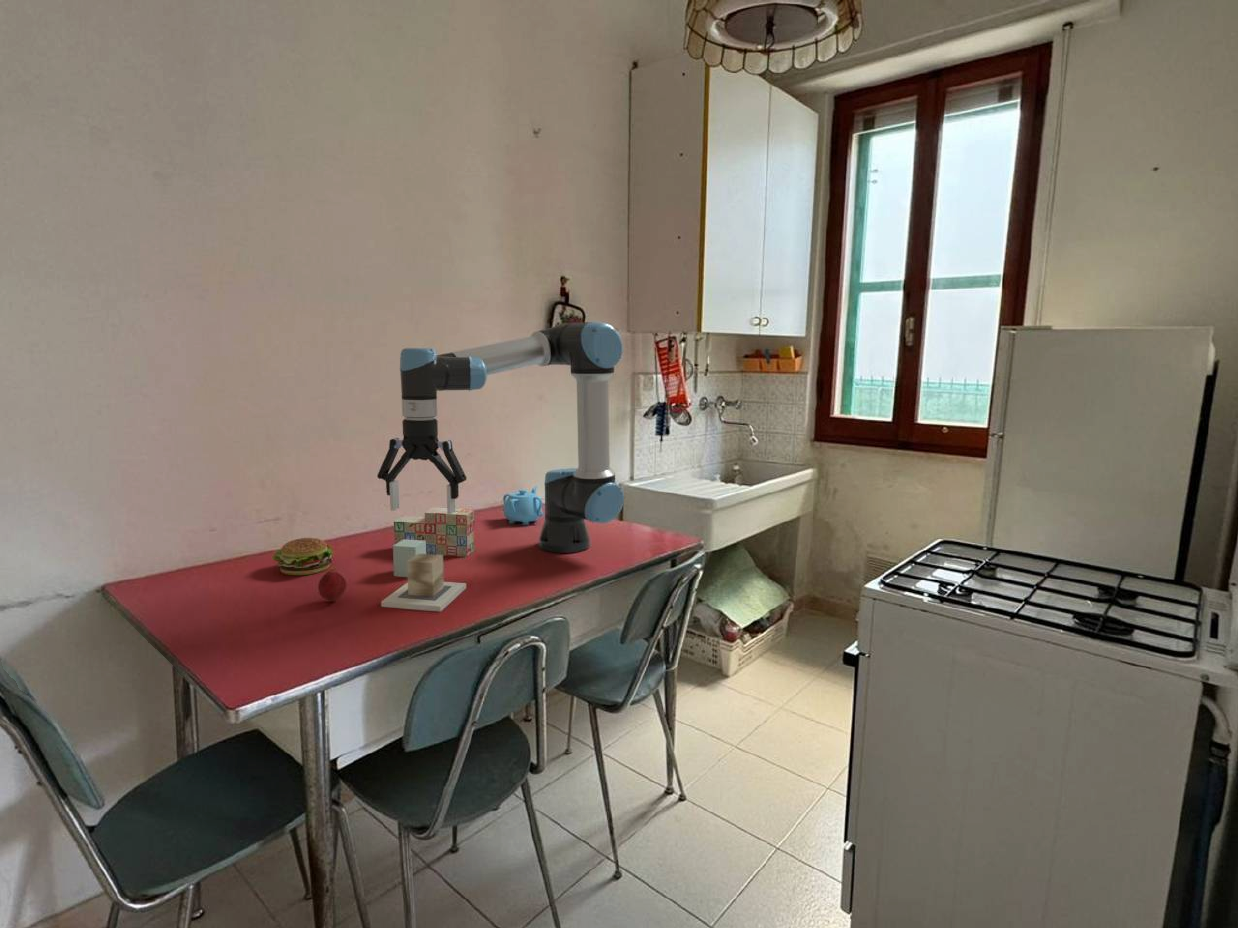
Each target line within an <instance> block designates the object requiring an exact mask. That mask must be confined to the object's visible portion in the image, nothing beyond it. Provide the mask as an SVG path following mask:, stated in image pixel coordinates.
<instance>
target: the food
mask: <svg viewBox="0 0 1238 928" xmlns="http://www.w3.org/2000/svg"><path fill="white" fill-rule="evenodd" d="M333 554H334V550H333V549H332V548H331V547H330V546H329V545H328V544H327V543H326V542H325V540H322V539H320V538H317V537H316V538H314V537H301V538H297V539H292V540H290V541H288V542H286V543H285V544H283V545H282V547H281V548H280V549H276V550H275V553H274V554H271V559H273V561H275V562H277V564H276V565H277V566H278V567H279V570H280V572H281V573H282V574H285V575H289V576H306V575H314V574H317V573H320V572H324V571H326V570H327V569H329V567H330V566H331V563H332V561H333V559H332V556H333Z"/></svg>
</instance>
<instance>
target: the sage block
mask: <svg viewBox="0 0 1238 928" xmlns="http://www.w3.org/2000/svg"><path fill="white" fill-rule="evenodd" d="M392 554H393V556H392V557H393V576H394V577H400V578H401V577H402V578H408V572H407V561H408V560H410V559H411V558H413V557H414V556H416V555H417V554H426V541H422V540H407V539H404V540H402V541H400V542H399V543H397V544H395V543H394V544H393V545H392Z"/></svg>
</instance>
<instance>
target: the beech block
mask: <svg viewBox="0 0 1238 928" xmlns="http://www.w3.org/2000/svg"><path fill="white" fill-rule="evenodd" d="M407 572H408V577H407V582H408V595H417V596H430V597H433V596H435V595H436V594H437V593H438V592H439V591H440V590H442V589H443V588H444V582H445V580H444V555H433V554H417V555H416V556H414V557H413V558H411V559H410V560H408V561H407Z"/></svg>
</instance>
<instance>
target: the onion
mask: <svg viewBox="0 0 1238 928" xmlns="http://www.w3.org/2000/svg"><path fill="white" fill-rule="evenodd" d="M317 589H318V593H319V594H320V596H321V597H322V598H323V599H324V600H326V601H329V602H331V603H335V602H337V601H338V599H340V598H341V597H342V596H343V595H344V593H345V592H346V590H347V581H346V579H345V578H344V576H343V575H342V574H340V573H339V572H337V571H336V568H335V567H331V568H330V569H328V571H327V572H326V573H325V574H324V575H323V576H322V577H321V578H320V579H319V581H318V586H317Z"/></svg>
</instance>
